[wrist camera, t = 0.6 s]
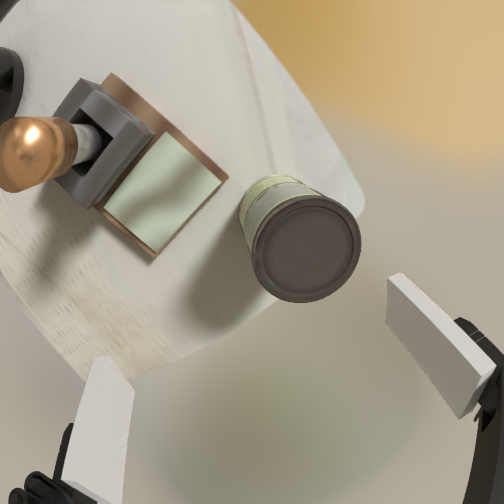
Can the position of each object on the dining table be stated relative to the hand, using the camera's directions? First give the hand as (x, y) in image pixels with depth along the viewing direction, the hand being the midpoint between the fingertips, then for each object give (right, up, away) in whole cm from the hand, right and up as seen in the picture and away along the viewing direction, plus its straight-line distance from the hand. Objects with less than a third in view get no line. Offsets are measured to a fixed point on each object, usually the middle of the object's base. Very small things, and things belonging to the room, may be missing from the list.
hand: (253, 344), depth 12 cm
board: (-15, +15, +21) cm, 30 cm away
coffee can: (+3, +9, +27) cm, 28 cm away
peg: (-18, +17, +18) cm, 31 cm away
